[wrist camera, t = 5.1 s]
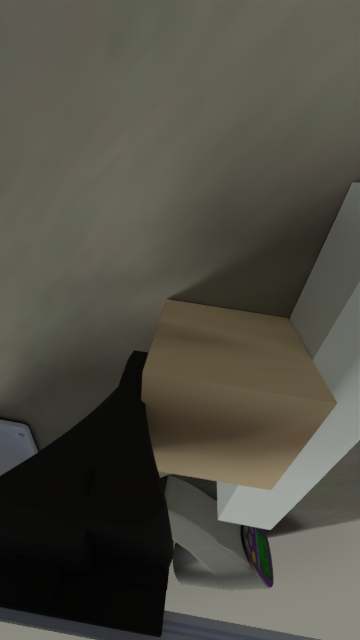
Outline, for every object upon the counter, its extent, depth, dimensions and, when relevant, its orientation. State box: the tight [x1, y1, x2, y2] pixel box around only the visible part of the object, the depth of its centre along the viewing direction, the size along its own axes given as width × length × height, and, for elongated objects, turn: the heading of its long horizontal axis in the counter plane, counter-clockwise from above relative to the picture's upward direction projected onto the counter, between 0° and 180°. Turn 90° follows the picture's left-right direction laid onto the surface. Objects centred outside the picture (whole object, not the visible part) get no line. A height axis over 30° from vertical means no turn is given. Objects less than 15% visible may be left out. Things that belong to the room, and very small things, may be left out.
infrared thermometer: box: [160, 475, 273, 590], centre depth 24 cm, size 5×12×15 cm
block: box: [141, 299, 337, 490], centre depth 11 cm, size 6×6×5 cm
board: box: [217, 182, 360, 530], centre depth 13 cm, size 22×4×3 cm, turn 172°
